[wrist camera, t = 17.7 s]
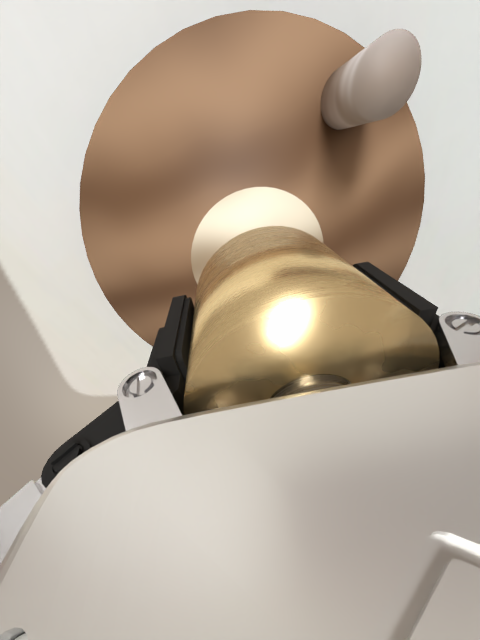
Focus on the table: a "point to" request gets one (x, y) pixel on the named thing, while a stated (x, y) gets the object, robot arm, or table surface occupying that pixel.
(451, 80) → the table surface
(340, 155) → the turntable
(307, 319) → the cover
